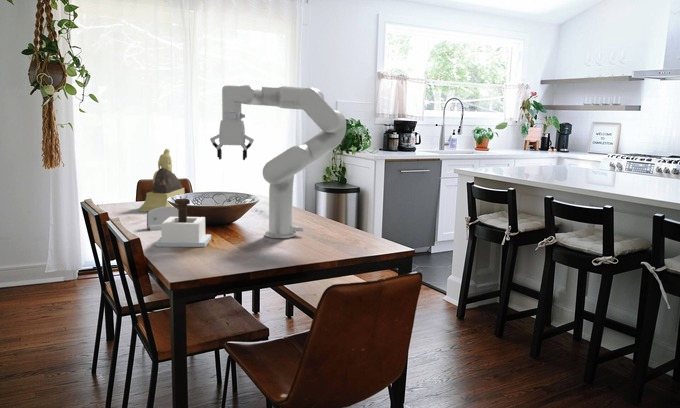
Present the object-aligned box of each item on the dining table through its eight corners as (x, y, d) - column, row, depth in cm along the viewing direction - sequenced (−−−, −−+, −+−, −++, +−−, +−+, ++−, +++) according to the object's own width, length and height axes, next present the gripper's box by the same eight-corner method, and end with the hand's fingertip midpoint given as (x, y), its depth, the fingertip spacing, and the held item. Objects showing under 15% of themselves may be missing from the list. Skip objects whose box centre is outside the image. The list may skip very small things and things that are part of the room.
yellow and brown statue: (164, 202, 292) (162, 146, 287) (187, 203, 291) (185, 147, 286) (139, 211, 265) (137, 150, 260) (164, 212, 263) (163, 151, 258)
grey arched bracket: (149, 231, 223) (146, 207, 225) (146, 232, 227) (143, 209, 228) (189, 227, 233) (186, 204, 234) (185, 228, 237) (182, 206, 238)
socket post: (211, 238, 214) (211, 217, 213) (205, 246, 200) (204, 224, 199) (164, 237, 213) (164, 216, 211) (155, 246, 199) (154, 223, 198)
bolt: (181, 240, 202) (180, 201, 200) (172, 238, 205) (171, 199, 203) (193, 237, 207) (192, 199, 205) (184, 235, 210) (183, 197, 207)
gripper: (254, 117, 222) (254, 159, 225) (211, 116, 220) (212, 158, 223) (252, 117, 214) (252, 160, 217) (208, 116, 213) (209, 159, 216)
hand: (232, 159), depth 220 cm, fingers open, 9 cm apart
